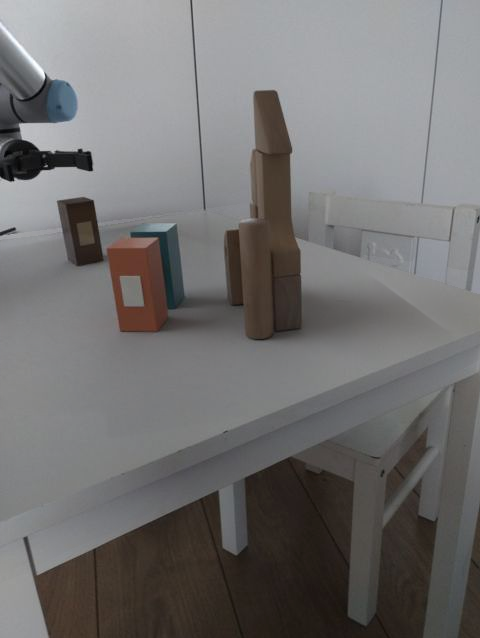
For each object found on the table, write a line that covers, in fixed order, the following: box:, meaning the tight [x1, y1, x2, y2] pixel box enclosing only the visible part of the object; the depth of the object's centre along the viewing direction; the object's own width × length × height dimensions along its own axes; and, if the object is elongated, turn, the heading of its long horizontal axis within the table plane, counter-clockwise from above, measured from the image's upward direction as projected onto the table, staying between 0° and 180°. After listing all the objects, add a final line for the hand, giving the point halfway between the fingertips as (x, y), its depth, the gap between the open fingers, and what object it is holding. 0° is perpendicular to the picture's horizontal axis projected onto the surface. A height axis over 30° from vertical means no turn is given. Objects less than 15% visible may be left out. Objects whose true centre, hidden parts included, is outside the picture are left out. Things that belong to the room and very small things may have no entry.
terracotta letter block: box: [106, 237, 169, 333], centre depth 67 cm, size 5×5×10 cm
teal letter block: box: [129, 222, 185, 310], centre depth 73 cm, size 5×5×10 cm
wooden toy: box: [223, 89, 303, 340], centre depth 65 cm, size 15×7×25 cm, turn 13°
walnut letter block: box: [56, 196, 105, 267], centre depth 94 cm, size 5×5×10 cm
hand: (51, 168), depth 98 cm, fingers open, 13 cm apart
